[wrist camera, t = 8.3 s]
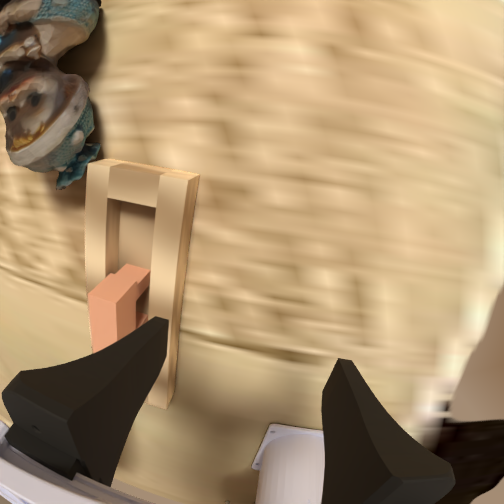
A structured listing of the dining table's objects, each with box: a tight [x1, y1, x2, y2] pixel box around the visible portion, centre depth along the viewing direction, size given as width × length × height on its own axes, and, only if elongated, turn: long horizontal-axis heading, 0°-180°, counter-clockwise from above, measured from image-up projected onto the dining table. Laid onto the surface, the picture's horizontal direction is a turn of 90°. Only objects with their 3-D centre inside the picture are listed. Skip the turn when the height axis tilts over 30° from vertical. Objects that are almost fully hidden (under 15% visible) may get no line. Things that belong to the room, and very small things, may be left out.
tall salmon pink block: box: [88, 264, 151, 353], centre depth 21 cm, size 6×2×6 cm, turn 168°
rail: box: [85, 159, 200, 410], centre depth 23 cm, size 20×7×2 cm, turn 169°
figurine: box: [0, 0, 101, 190], centre depth 15 cm, size 9×8×15 cm
